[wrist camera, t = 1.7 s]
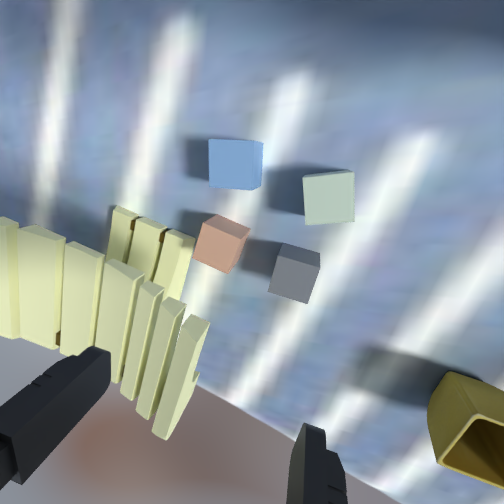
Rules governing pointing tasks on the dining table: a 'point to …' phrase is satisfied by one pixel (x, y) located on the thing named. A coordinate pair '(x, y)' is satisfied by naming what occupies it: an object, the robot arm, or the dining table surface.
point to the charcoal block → (295, 273)
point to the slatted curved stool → (109, 306)
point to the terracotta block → (220, 243)
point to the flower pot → (468, 427)
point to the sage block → (329, 197)
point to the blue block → (235, 164)
